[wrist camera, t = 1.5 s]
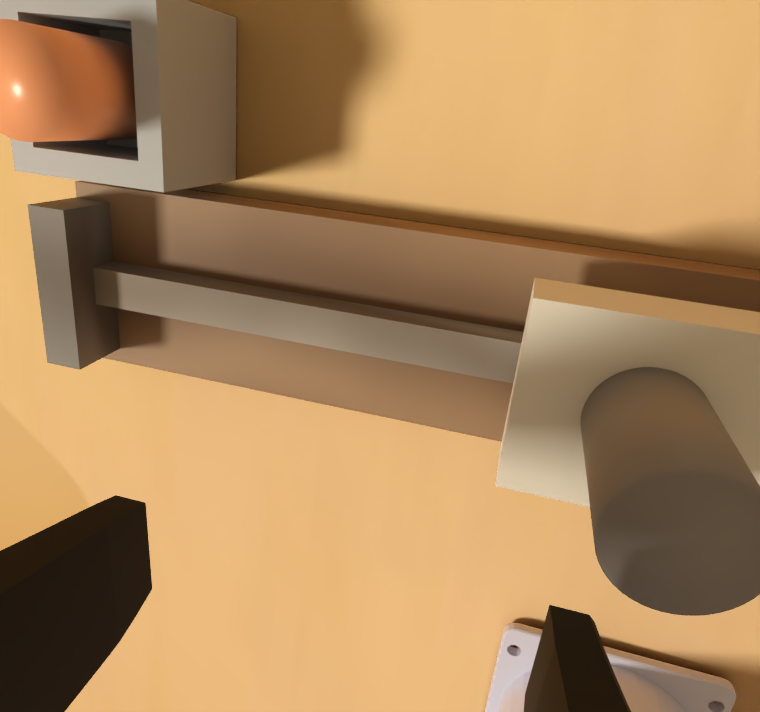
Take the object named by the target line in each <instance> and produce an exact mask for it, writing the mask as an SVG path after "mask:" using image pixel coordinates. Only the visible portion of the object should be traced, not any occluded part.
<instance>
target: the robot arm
mask: <svg viewBox="0 0 760 712" xmlns="http://www.w3.org/2000/svg"><path fill="white" fill-rule="evenodd" d="M151 590H152V582H151V569H150V556H149V543H148V531H147V518H146V505H145V503H144V502H140V501H136V500H132V499H128V498H124V497H120V496H113V497H111V498H109V499H107V500H104V501H102V502H100V503H98V504H96V505H93V506H91V507H89V508H87V509H85V510H83V511H81V512H79V513H77V514H75V515H73V516H71V517H69V518H67V519H65V520H63V521H61V522H59V523H57V524H55V525H53V526H51V527H49V528H46V529H44V530H43V531H40V532H38V533H36V534H35V535H32V536H30V537H28V538H26V539H24V540H22V541H20V542H18V543H16V544H14V545H12V546H10V547H8V548H5V549H3V550H1V551H0V712H64V711H65V710H66V709H67V708H68V706H69V705H70V704H71V703H72V701H73V700H74V699H75V698H76V696H77V695H78V694H79V693H80V691H81V690H82V689H83V688H84V686H85V685H86V684H87V683H88V681H89V680H90V679H91V678H92V676H93V675H94V674H95V672H96V671H97V670H98V669H99V667H100V666H101V665H102V664H103V662H104V661H105V660H106V658H107V657H108V656H109V655H110V653H111V652H112V651H113V649H114V648H115V647H116V645H117V644H118V643H119V642H120V640H121V638H122V637H123V635H124V634H125V632H126V631H127V629H128V628H129V626H130V624H131V623H132V621H133V620H134V618H135V617H136V615H137V613H138V611H139V610H140V608H141V606H142V605H143V603H144V601H145V600H146V598H147V596H148V595H149V593H150V591H151ZM510 645H516V646H518V648H514V647H511V646H510ZM736 696H737V695H736V692H735V689H734V687H733V684H732V683H731V682H730V681H728V680H726V679H724V678H721V677H717V676H714V675H710V674H706V673H702V672H699V671H695V670H691V669H688V668H684V667H680V666H676V665H673V664H669V663H665V662H662V661H658V660H654V659H650V658H647V657H643V656H639V655H635V654H632V653H628V652H624V651H621V650H617V649H613V648H609V647H606V646H603V644H602V641H601V639H600V636H599V633H598V631H597V628H596V625H595V622H594V621H593V620H592V618H591V617H590V615H587V614H583V613H579V612H576V611H572V610H568V609H564V608H560V607H556V606H552V605H550V606H549V609H548V613H547V616H546V620H545V624H544V627H543V630H542V629H539V628H535V627H531V626H528V625H524V624H520V623H510V624H508V625H506V626H505V628H504V630H503V634H502V638H501V643H500V647H499V651H498V656H497V660H496V664H495V668H494V673H493V677H492V681H491V685H490V690H489V694H488V698H487V702H486V707H485V711H484V712H731V709H732V707H733V705H734V703H735V701H736ZM712 701H719V702H716V703H714V702H712Z"/></svg>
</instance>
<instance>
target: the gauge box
mask: <svg viewBox="0 0 760 712" xmlns="http://www.w3.org/2000/svg"><path fill="white" fill-rule="evenodd" d="M0 19H11V20H17V21H22V22H27V23H32V24H36V25H41V26H46V27H51V28H56V29H61V30H66V31H71V32H76V33H81V34H86V35H91V36H96V37H101V38H105V39H110V40H115V41H120V42H123V43H126V44H128V45H130V46H131V47H132V52H133V70H134V89H135V107H136V125H137V137H135V138H131V139H118V140H82V141H46V142H22V141H18V140H15V139H12V138H11V144H12V152H13V159H14V167H15V171H18V172H25V173H32V174H39V175H46V176H53V177H60V178H67V179H74V180H81V181H88V182H95V183H102V184H108V185H115V186H122V187H129V188H136V189H143V190H150V191H157V192H169V191H175V190H181V189H187V188H193V187H199V186H205V185H211V184H217V183H222V182H228V181H234V180H236V41H237V18H236V17H234V16H231V15H228V14H225V13H222V12H220V11H217V10H214V9H211V8H208V7H205V6H203V5H200V4H197V3H194V2H191V1H189V0H0Z"/></svg>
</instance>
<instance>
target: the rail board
mask: <svg viewBox="0 0 760 712" xmlns="http://www.w3.org/2000/svg"><path fill="white" fill-rule="evenodd" d="M75 184H76V195H77V198H70V199H63V200H57V201H50V202H43V203H37V204H30V205H28V211H29V219H30V226H31V234H32V242H33V250H34V258H35V266H36V274H37V282H38V290H39V298H40V306H41V314H42V322H43V330H44V338H45V346H46V354H47V362H48V363H52V364H57V365H61V366H66V367H71V368H75V369H82V368H84V367H86V366H87V365H89V364H91V363H93V362H95V361H97V360H99V359H101V358H107V359H111V360H116V361H121V362H126V363H130V364H135V365H140V366H145V367H149V368H154V369H159V370H164V371H168V372H173V373H178V374H183V375H187V376H192V377H197V378H202V379H206V380H211V381H216V382H221V383H225V384H230V385H235V386H240V387H245V388H249V389H254V390H259V391H264V392H268V393H273V394H278V395H283V396H287V397H292V398H297V399H302V400H306V401H311V402H316V403H321V404H325V405H330V406H335V407H340V408H344V409H349V410H354V411H359V412H363V413H368V414H373V415H378V416H382V417H387V418H392V419H397V420H401V421H406V422H411V423H416V424H421V425H425V426H430V427H435V428H440V429H444V430H449V431H454V432H459V433H463V434H468V435H473V436H478V437H482V438H487V439H492V440H497V441H501V442H502V437H503V432H504V427H505V423H506V418H507V413H508V408H509V403H510V398H511V393H512V388H513V383H514V378H515V373H516V368H517V363H518V358H519V353H520V348H521V343H522V338H523V333H524V328H525V323H526V318H527V313H528V308H529V303H530V298H531V293H532V288H533V283H534V278H541V279H548V280H554V281H560V282H567V283H573V284H580V285H586V286H593V287H599V288H606V289H612V290H619V291H625V292H632V293H638V294H645V295H651V296H658V297H664V298H671V299H677V300H684V301H690V302H697V303H703V304H709V305H716V306H722V307H729V308H735V309H742V310H748V311H755V312H760V270H754V269H747V268H740V267H733V266H726V265H719V264H712V263H705V262H697V261H690V260H683V259H676V258H669V257H662V256H655V255H648V254H641V253H634V252H627V251H620V250H613V249H606V248H599V247H592V246H584V245H577V244H570V243H563V242H556V241H549V240H542V239H535V238H528V237H521V236H514V235H507V234H500V233H493V232H486V231H479V230H471V229H464V228H457V227H450V226H443V225H436V224H429V223H422V222H415V221H408V220H401V219H394V218H387V217H380V216H373V215H366V214H358V213H351V212H344V211H337V210H330V209H323V208H316V207H309V206H302V205H295V204H288V203H281V202H274V201H267V200H260V199H253V198H245V197H238V196H231V195H224V194H217V193H210V192H203V191H196V190H189V189H181V190H175V191H169V192H157V191H150V190H143V189H136V188H129V187H122V186H115V185H108V184H102V183H95V182H88V181H75Z"/></svg>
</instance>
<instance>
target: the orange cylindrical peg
mask: <svg viewBox="0 0 760 712" xmlns="http://www.w3.org/2000/svg"><path fill="white" fill-rule="evenodd" d="M0 132H1V133H3V134H4V135H6V136H8V137H10V138H12V139H15V140H18V141H22V142H46V141H82V140H118V139H131V138H135V137H137V125H136V107H135V89H134V70H133V52H132V47H131V46H130V45H128V44H126V43H123V42H120V41H115V40H110V39H105V38H101V37H96V36H91V35H86V34H81V33H76V32H71V31H66V30H61V29H56V28H51V27H46V26H41V25H36V24H32V23H27V22H22V21H17V20H11V19H0Z"/></svg>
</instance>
